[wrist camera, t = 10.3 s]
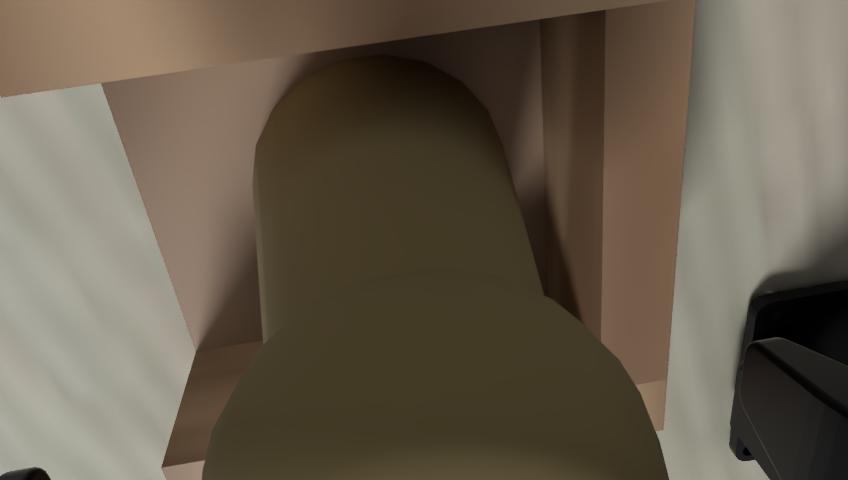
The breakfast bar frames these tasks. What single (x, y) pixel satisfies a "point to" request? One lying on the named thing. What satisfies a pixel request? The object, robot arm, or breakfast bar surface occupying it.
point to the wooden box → (408, 38)
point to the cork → (412, 304)
